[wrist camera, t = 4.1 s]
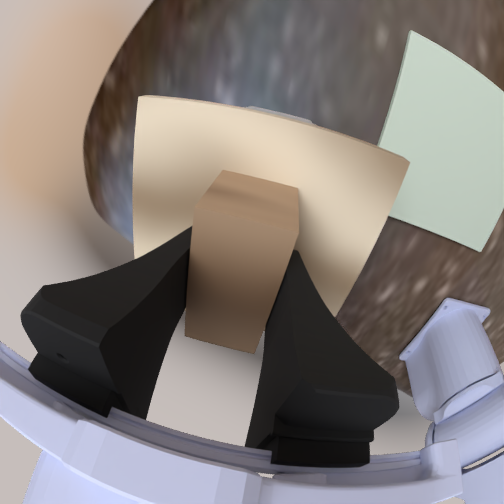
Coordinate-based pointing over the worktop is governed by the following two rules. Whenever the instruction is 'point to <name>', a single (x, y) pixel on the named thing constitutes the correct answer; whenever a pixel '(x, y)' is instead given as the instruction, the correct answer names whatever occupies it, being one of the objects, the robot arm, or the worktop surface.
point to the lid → (255, 207)
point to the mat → (447, 144)
